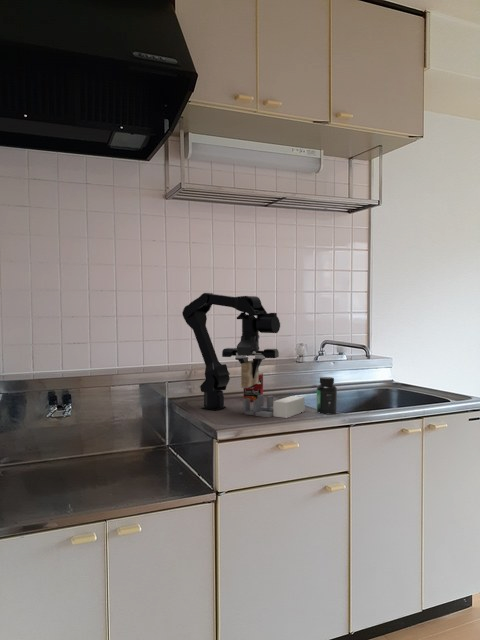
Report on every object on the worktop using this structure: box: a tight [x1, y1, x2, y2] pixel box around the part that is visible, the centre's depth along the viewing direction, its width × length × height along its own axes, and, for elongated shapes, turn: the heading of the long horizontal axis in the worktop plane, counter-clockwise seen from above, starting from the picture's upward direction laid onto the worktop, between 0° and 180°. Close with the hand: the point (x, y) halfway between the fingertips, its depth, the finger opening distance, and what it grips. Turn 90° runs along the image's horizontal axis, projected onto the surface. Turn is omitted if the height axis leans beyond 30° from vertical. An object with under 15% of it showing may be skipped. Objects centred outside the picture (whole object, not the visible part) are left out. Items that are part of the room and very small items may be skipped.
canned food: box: [242, 371, 264, 403], centre depth 197 cm, size 8×8×11 cm
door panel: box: [240, 359, 260, 389], centre depth 171 cm, size 14×2×8 cm, turn 162°
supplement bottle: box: [316, 376, 338, 414], centre depth 173 cm, size 7×7×12 cm
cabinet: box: [242, 394, 306, 419], centre depth 172 cm, size 15×16×5 cm
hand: (250, 378), depth 171 cm, fingers closed on door panel, 2 cm apart
